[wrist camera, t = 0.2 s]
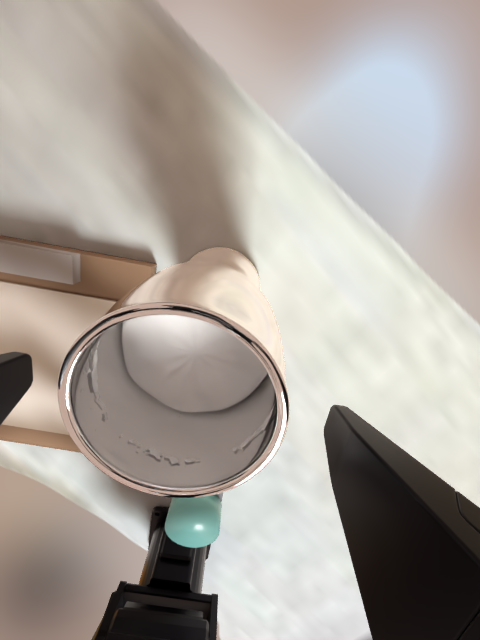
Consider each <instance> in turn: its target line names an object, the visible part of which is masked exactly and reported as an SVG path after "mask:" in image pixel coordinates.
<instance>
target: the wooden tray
mask: <svg viewBox="0 0 480 640" xmlns="http://www.w3.org/2000/svg"><path fill="white" fill-rule="evenodd" d="M156 265H157V264H154V263H149V262H143V261H138V260H132V259H127V258H121V257H116V256H110V255H105V254H99V253H94V252H88V251H83V250H77V249H72V248H66V247H61V246H55V245H50V244H44V243H39V242H33V241H28V240H22V239H17V238H11V237H6V236H0V354H4V353H9V352H22V353H27V354H29V355H30V356H31V357H32V367H33V382H32V385H31V387H30V388H29V389H28V391H27V392H26V393H25V395H24V396H23V397H22V398H21V400H20V401H19V402H18V404H17V405H16V406H15V407H14V409H13V410H12V411H11V413H10V414H9V415H8V416H7V418H6V419H5V420H4V421H3V423H2V424H1V425H0V440H4V441H10V442H17V443H23V444H30V445H36V446H42V447H49V448H55V449H62V450H68V451H75V452H81V451H80V450H79V448H78V447H77V446H76V444H75V443H74V442H73V440H72V438H71V437H70V435H69V433H68V431H67V429H66V427H65V425H64V422H63V419H62V416H61V413H60V408H59V403H58V379H59V373H60V369H61V366H62V363H63V361H64V358H65V356H66V354H67V352H68V350H69V349H70V347H71V346H72V344H73V343H74V341H75V340H76V339H77V338H78V336H79V335H80V334H81V333H82V332H83V331H84V330H85V329H86V328H88V327H89V326H90V325H91V324H93V323H94V322H95V321H97V320H98V319H100V318H101V317H102V316H103V315H104V314H105V313H106V312H107V311H108V310H109V309H110V308H111V307H112V306H113V305H114V304H115V303H116V302H117V301H118V300H120V299H121V298H122V297H123V296H124V295H125V294H126V293H127V292H129V291H130V290H131V289H133V288H134V287H135V286H137V285H138V284H139V283H141V282H142V281H143V280H145V279H146V278H148V277H150V276H151V275H153V274H155V273H156ZM81 453H82V452H81Z"/></svg>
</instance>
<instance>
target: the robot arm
mask: <svg viewBox="0 0 480 640" xmlns="http://www.w3.org/2000/svg"><path fill="white" fill-rule="evenodd" d="M32 382H33V367H32V357H31V356H30V355H29V354H27V353H22V352H9V353H4V354H0V425H1V424H2V423H3V421H4V420H5V419H6V418H7V416H8V415H9V414H10V413H11V411H12V410H13V409H14V407H15V406H16V405H17V404H18V402H19V401H20V400H21V398H22V397H23V396H24V395H25V393H26V392H27V391H28V389H29V388H30V387H31V385H32ZM324 438H325V445H326V452H327V458H328V465H329V471H330V477H331V483H332V487H333V491H334V495H335V499H336V503H337V507H338V510H339V514H340V518H341V522H342V525H343V529H344V533H345V537H346V541H347V544H348V548H349V552H350V556H351V559H352V563H353V567H354V571H355V575H356V578H357V582H358V586H359V590H360V593H361V597H362V601H363V605H364V609H365V612H366V616H367V620H368V624H369V628H370V631H371V635H372V639H373V640H480V508H479V507H478V506H476V505H475V504H474V503H472V502H471V501H470V500H468V499H467V498H466V497H465V496H463V495H462V494H461V493H459V492H457V491H456V492H455V489H454V488H453V487H451V486H450V485H449V484H447V483H446V482H445V481H443V480H442V479H441V478H439V477H438V476H437V475H436V474H434V473H433V472H432V471H430V470H429V469H428V468H426V467H425V466H424V465H422V464H421V463H420V462H418V461H417V460H416V459H415V458H413V457H412V456H411V455H409V454H408V453H407V452H405V451H404V450H403V449H401V448H400V447H399V446H397V445H396V444H395V443H394V442H392V441H391V440H390V439H388V438H387V437H386V436H384V435H383V434H382V433H380V432H379V431H378V430H377V429H375V428H374V427H373V426H371V425H370V424H369V423H367V422H366V421H365V420H363V419H362V418H361V417H359V416H358V415H357V414H356V413H354V412H353V411H352V410H350V409H349V408H348V407H345V406H340V405H333V406H332V407H331V409H330V412H329V415H328V418H327V421H326V424H325V427H324ZM168 511H169V508H162V507H155V508H154V509H153V512H152V520H151V529H150V538H149V548H148V550H149V551H148V554H147V558H146V561H145V564H144V568H143V571H142V575H141V578H140V581H139V585H137V584H130V583H127V582H126V581H120V584H119V586H118V589H117V591H115V592H113V593H112V594H111V597H110V600H109V603H108V606H107V609H106V611H105V614H104V616H103V618H102V621H101V623H100V624H99V626H98V628H97V630H96V632H95V634H94V636H93V638H92V640H216V631H217V605H218V594H212V595H208V594H201V591H202V583H203V575H204V567H205V560H206V559H207V558H208V554H209V550H210V545H211V544H209V545H207V546H204V547H197V548H192V547H185V546H182V545H179V544H177V543H175V542H174V541H172V540H171V539H170V538H169V537H168V535H167V534H166V531H165V522H166V518H167V514H168Z"/></svg>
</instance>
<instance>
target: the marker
mask: <svg viewBox="0 0 480 640" xmlns="http://www.w3.org/2000/svg"><path fill="white" fill-rule="evenodd" d="M222 496H223V492H222V493H219V494H215V495H210V496H205V497H196V498H173V497H172V499H171V503H170V507H169V511H168V514H167V518H166V522H165V531H166V534H167V535H168V537H169V538H170V539H171V540H172V541H174V542H175V543H177V544H179V545H182V546H185V547H192V548H197V547H204V546H207V545H209V544H211V543H212V542H214V541H215V540H216V539H217V537H218V535H219V530H220V519H221V508H222V505H221V501H222Z"/></svg>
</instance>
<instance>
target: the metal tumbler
mask: <svg viewBox="0 0 480 640" xmlns="http://www.w3.org/2000/svg"><path fill="white" fill-rule="evenodd" d="M58 403H59V408H60V413H61V416H62V419H63V422H64V425H65V427H66V429H67V431H68V433H69V435H70V437H71V438H72V440H73V442H74V443H75V444H76V446H77V447H78V448H79V450H80V451H81V452H82V453H83V454H84V456H85V457H86V458H87V459H88V460H89V461H90V462H91V463H93V464H94V465H95V466H96V467H97V468H98V469H100V470H101V471H102V472H104V473H105V474H107V475H108V476H110V477H111V478H113V479H115V480H117V481H118V482H120V483H122V484H124V485H126V486H129V487H131V488H134V489H136V490H139V491H142V492H146V493H149V494H153V495H158V496H164V497H173V498H196V497H205V496H210V495H215V494H219V493H222V492H225V491H228V490H230V489H233V488H235V487H237V486H239V485H241V484H243V483H245V482H247V481H248V480H250V479H251V478H253V477H254V476H255V475H257V474H258V473H259V472H260V471H261V470H262V469H263V468H264V467H265V466H266V465H267V464H268V463H269V462H270V461H271V460H272V458H273V457H274V456H275V454H276V453H277V451H278V449H279V448H280V446H281V444H282V442H283V439H284V437H285V434H286V430H287V426H288V421H289V396H288V391H287V387H286V373H285V361H284V351H283V346H282V340H281V335H280V330H279V327H278V323H277V321H276V318H275V315H274V312H273V310H272V307H271V305H270V303H269V302H268V300H267V298H266V297H265V295H264V294H263V293H262V291H261V286H260V279H259V275H258V273H257V271H256V269H255V267H254V265H253V264H252V263H251V261H250V260H249V259H248V258H247V257H245V256H244V255H243V254H241V253H239V252H238V251H235V250H233V249H230V248H224V247H214V248H209V249H206V250H203V251H201V252H199V253H197V254H196V255H195V256H193V257H192V258H191V259H190V260H189V261H188V262H184V263H179V264H176V265H173V266H170V267H167V268H165V269H163V270H161V271H159V272H157V273H155V274H153V275H151V276H150V277H148V278H146V279H145V280H143V281H142V282H141V283H139V284H138V285H137V286H135V287H134V288H133V289H131V290H130V291H129V292H127V293H126V294H125V295H124V296H123V297H122V298H121V299H120V300H118V301H117V302H116V303H115V304H114V305H113V306H112V307H111V308H110V309H109V310H108V311H107V312H106V313H105V314H104V315H103V316H102V317H101V318H100V319H98V320H97V321H95V322H94V323H93V324H91V325H90V326H89V327H88V328H86V329H85V330H84V331H83V332H82V333H81V334H80V335H79V336H78V338H77V339H76V340H75V341H74V343H73V344H72V346H71V347H70V349H69V350H68V352H67V354H66V356H65V358H64V361H63V363H62V366H61V369H60V373H59V379H58Z"/></svg>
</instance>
